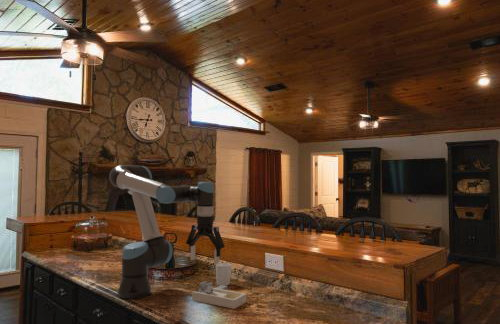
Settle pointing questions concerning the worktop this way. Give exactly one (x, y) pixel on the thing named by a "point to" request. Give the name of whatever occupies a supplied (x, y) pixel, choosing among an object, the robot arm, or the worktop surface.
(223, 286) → the grey tall rectangular block
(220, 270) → the white cup
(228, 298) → the box with sliding lid
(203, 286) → the clip
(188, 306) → the worktop surface
